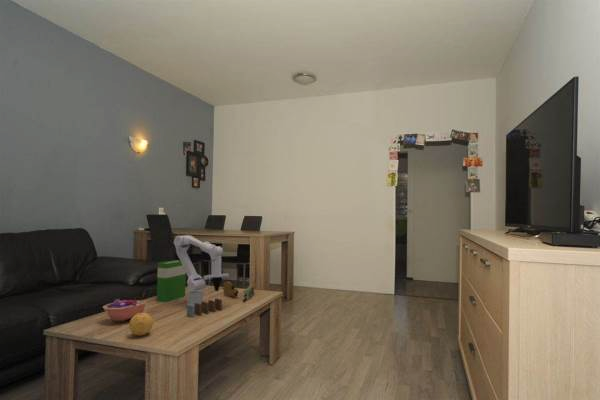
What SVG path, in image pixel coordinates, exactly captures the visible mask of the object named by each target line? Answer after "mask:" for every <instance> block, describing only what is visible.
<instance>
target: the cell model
mask: <svg viewBox="0 0 600 400" xmlns="http://www.w3.org/2000/svg"><path fill="white" fill-rule="evenodd" d="M145 307H146V301H145V300H139V299H138V300H137V299H133V300H132V299H127V300H125V299H124V300H121V299H120V298H117V299H115V300H113V302H110V303H107V304H105V305H103V306H102V308H103V309H104V311H105V313H106V315H107V316H108V318H109V319H110V320H111V321H113V322H121V323H122V322H124V321H127V320H131V319H132V317H133V316H135V315H136V314H137V313H141V312H143V313H144V311H145Z"/></svg>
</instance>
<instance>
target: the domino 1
mask: <svg viewBox="0 0 600 400" xmlns="http://www.w3.org/2000/svg"><path fill="white" fill-rule="evenodd" d="M186 305H187V304H186ZM186 317H189V318H195V314H194V306H193V305H190V304H188V305H187V306H186Z"/></svg>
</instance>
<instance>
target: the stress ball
mask: <svg viewBox="0 0 600 400" xmlns="http://www.w3.org/2000/svg"><path fill="white" fill-rule="evenodd" d="M153 326H154V319H153V317H152V316H151V315H150V314H149V313H147V312H144V311H143V312H141V313H137V314H136V315H135V316H133V317H132V318H131V319H129V322H128V327H129V330H130V332H131V333H132V334H133V335H134V336H140V337H141V336H145V335H147V334H148V333H149V332H150V331H151V330H152V328H153Z"/></svg>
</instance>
